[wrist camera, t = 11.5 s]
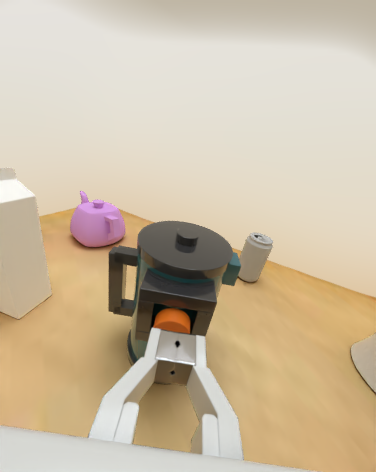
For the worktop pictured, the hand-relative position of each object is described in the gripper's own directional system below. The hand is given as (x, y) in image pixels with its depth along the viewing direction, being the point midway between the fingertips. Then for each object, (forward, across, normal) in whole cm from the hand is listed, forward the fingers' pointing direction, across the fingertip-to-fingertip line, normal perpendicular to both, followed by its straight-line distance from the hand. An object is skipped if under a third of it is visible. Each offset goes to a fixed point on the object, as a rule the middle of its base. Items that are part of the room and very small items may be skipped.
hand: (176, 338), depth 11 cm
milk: (+16, -26, -20) cm, 36 cm away
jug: (+12, -1, -20) cm, 23 cm away
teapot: (+42, -24, -20) cm, 52 cm away
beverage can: (+36, +19, -20) cm, 45 cm away
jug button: (+5, 0, -8) cm, 9 cm away
